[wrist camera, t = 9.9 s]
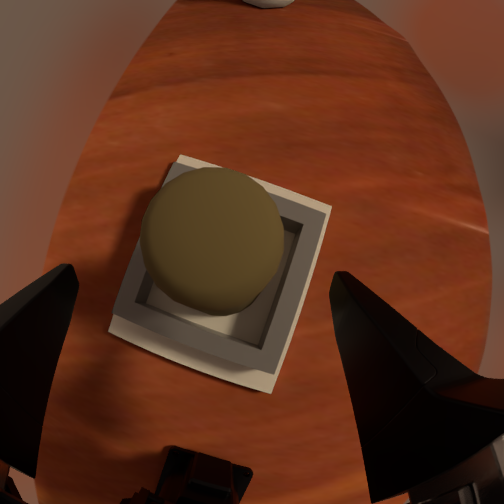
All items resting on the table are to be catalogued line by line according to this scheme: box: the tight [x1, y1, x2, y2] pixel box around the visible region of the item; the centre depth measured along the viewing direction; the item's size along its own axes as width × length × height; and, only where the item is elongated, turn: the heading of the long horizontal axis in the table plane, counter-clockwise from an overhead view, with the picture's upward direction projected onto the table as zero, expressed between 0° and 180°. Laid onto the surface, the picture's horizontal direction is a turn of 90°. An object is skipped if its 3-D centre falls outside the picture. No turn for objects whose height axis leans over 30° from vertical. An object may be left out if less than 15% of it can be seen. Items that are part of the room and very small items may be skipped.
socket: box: [108, 155, 332, 394], centre depth 19 cm, size 14×12×4 cm
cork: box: [140, 167, 284, 316], centre depth 14 cm, size 6×6×11 cm
